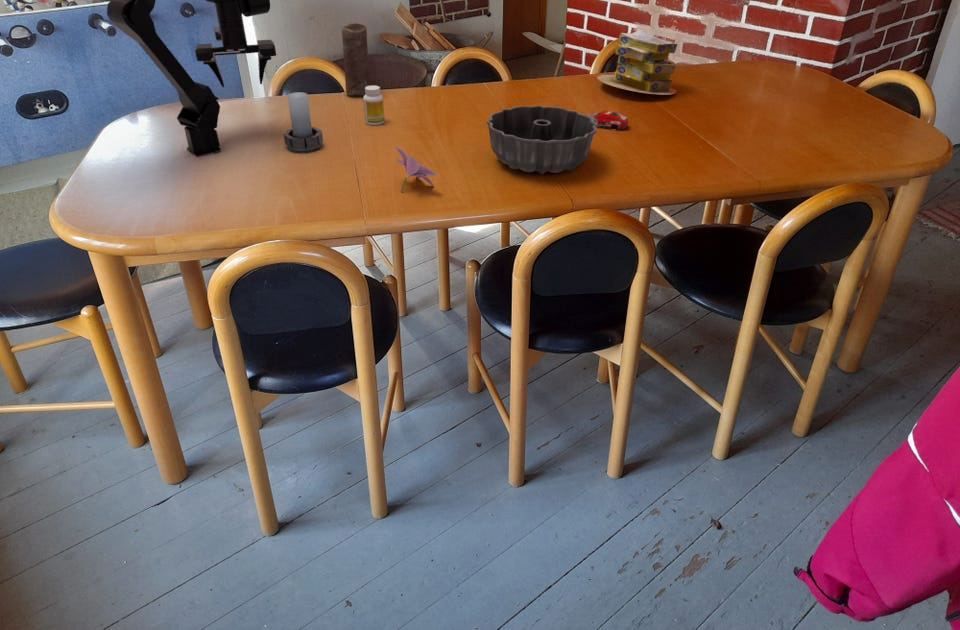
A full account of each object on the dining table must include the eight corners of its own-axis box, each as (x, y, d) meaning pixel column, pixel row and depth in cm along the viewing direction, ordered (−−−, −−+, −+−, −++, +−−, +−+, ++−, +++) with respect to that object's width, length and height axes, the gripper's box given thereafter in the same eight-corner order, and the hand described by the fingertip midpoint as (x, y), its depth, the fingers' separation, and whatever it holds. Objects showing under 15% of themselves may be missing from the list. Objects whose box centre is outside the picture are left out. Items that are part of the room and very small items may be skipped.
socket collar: (297, 155, 173) (295, 141, 171) (280, 145, 178) (278, 131, 176) (329, 147, 178) (327, 133, 176) (311, 137, 183) (309, 124, 181)
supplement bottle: (361, 121, 194) (358, 86, 188) (377, 117, 197) (375, 83, 191) (371, 126, 190) (369, 91, 185) (388, 122, 193) (386, 88, 188)
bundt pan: (563, 137, 186) (566, 99, 180) (613, 173, 166) (619, 133, 160) (470, 149, 178) (471, 110, 172) (512, 189, 158) (514, 147, 152)
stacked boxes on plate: (640, 75, 235) (647, 23, 225) (692, 95, 217) (702, 39, 208) (581, 85, 225) (586, 30, 215) (630, 107, 207) (637, 48, 198)
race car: (577, 126, 194) (578, 111, 191) (583, 120, 198) (584, 106, 195) (624, 133, 189) (625, 118, 187) (629, 126, 193) (630, 112, 191)
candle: (373, 91, 217) (368, 23, 205) (368, 99, 211) (362, 29, 199) (349, 90, 217) (343, 22, 206) (343, 97, 211) (336, 28, 200)
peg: (300, 147, 175) (293, 99, 168) (290, 141, 178) (283, 94, 171) (317, 142, 177) (311, 95, 170) (307, 137, 180) (301, 91, 173)
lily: (438, 203, 153) (450, 160, 152) (388, 189, 148) (400, 144, 147) (422, 198, 164) (433, 158, 163) (374, 184, 159) (385, 143, 158)
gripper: (267, 11, 177) (277, 73, 186) (189, 15, 172) (203, 79, 181) (271, 20, 168) (281, 85, 177) (189, 25, 163) (203, 92, 172)
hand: (242, 85), depth 177 cm, fingers open, 9 cm apart
